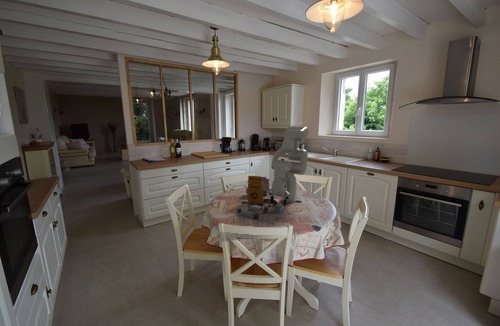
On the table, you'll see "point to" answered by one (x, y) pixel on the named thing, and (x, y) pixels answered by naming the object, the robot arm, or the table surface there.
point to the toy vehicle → (265, 186)
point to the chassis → (252, 211)
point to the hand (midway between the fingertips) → (278, 203)
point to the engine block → (278, 209)
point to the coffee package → (255, 190)
